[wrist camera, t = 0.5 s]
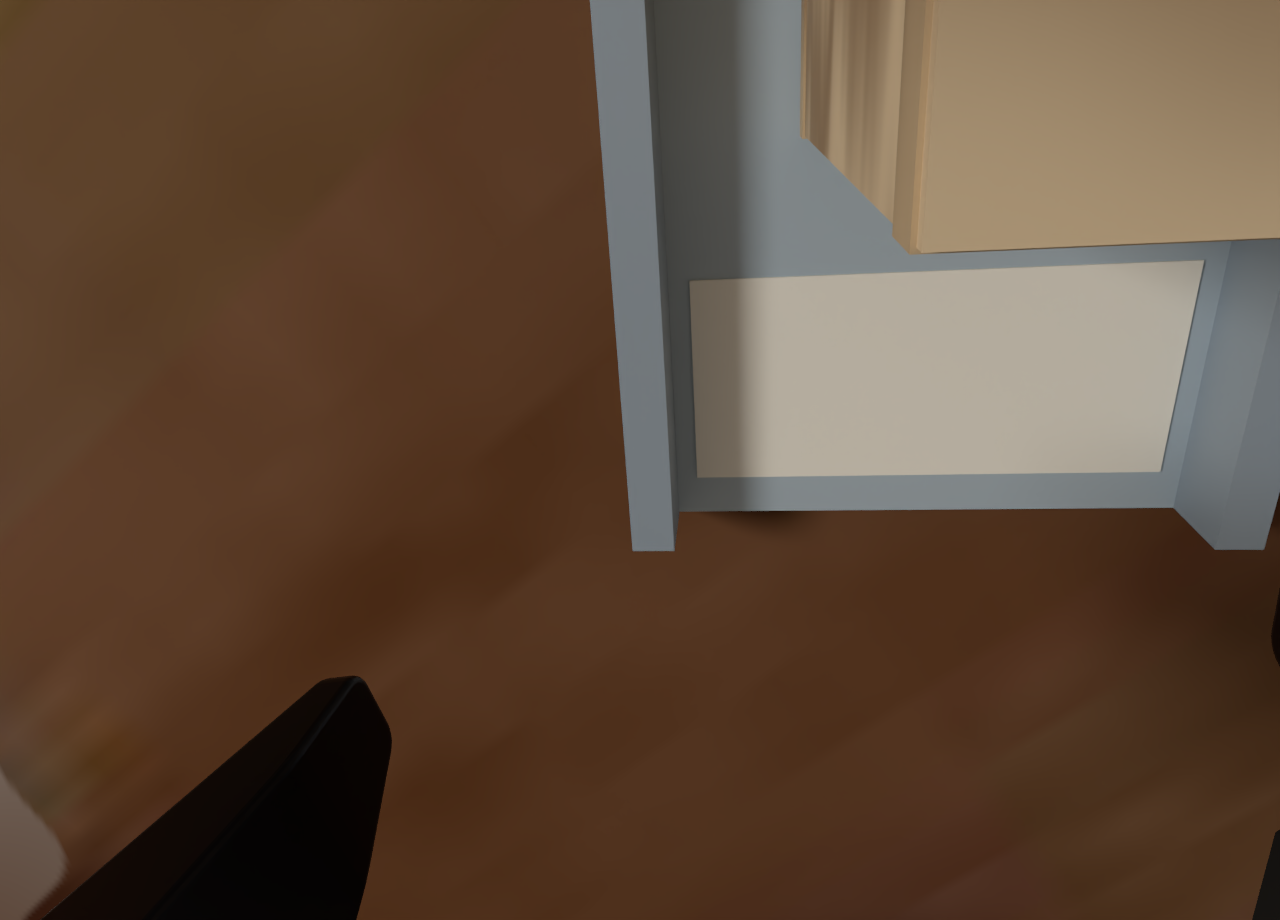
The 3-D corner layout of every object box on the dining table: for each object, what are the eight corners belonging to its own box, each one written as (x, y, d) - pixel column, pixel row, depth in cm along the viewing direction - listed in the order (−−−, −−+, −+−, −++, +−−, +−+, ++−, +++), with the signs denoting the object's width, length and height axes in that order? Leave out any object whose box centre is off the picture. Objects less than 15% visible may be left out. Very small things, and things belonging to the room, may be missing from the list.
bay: (1388, 483, 21) (1624, 633, 15) (645, 491, 23) (616, 625, 18) (1667, -362, 14) (2253, -632, 9) (596, -238, 17) (525, -392, 11)
